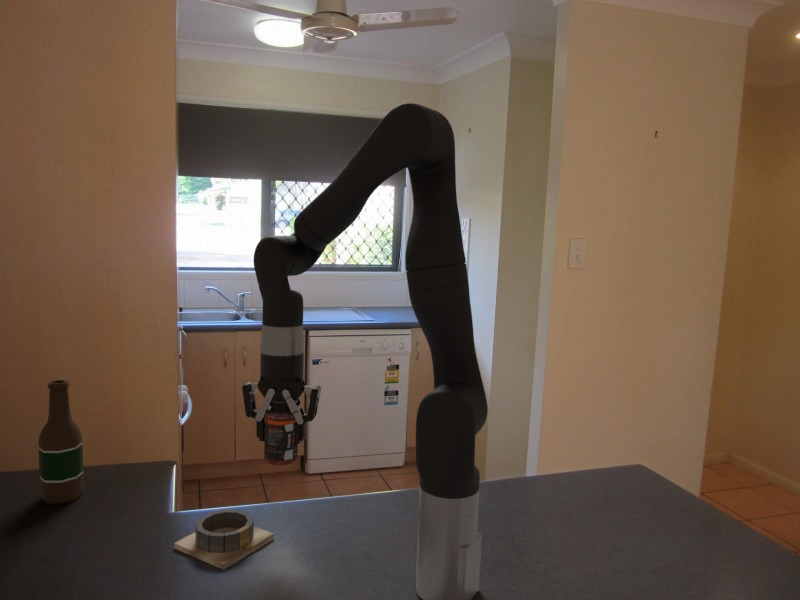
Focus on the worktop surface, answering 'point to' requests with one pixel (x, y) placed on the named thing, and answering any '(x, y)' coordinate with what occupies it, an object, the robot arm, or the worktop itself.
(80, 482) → the beer bottle
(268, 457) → the supplement bottle
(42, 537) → the worktop surface
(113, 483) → the worktop surface
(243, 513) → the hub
